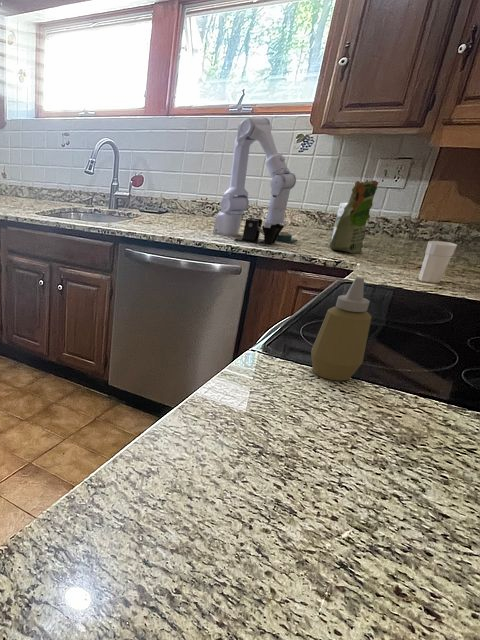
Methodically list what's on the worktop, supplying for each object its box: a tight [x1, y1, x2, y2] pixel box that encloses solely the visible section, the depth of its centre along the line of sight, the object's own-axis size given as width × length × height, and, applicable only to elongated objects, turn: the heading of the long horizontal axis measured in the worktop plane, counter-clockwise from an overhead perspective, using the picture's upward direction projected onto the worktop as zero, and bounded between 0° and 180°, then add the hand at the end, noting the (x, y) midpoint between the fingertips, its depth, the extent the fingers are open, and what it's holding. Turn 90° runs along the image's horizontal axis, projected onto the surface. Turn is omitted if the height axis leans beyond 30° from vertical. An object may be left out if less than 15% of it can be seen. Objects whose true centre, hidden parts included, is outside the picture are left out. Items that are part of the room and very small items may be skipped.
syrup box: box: [330, 202, 348, 241], centre depth 205 cm, size 6×6×14 cm
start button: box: [279, 229, 289, 235], centre depth 203 cm, size 3×3×2 cm
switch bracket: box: [234, 217, 264, 245], centre depth 201 cm, size 9×8×9 cm
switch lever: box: [252, 219, 264, 236], centre depth 199 cm, size 11×3×3 cm
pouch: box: [328, 179, 379, 255], centre depth 185 cm, size 11×12×25 cm
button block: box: [275, 233, 298, 244], centre depth 204 cm, size 9×6×3 cm, turn 46°
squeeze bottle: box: [310, 276, 372, 382], centre depth 91 cm, size 8×8×18 cm
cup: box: [417, 240, 458, 284], centre depth 153 cm, size 7×7×11 cm
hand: (269, 244), depth 198 cm, fingers closed on switch lever, 3 cm apart
